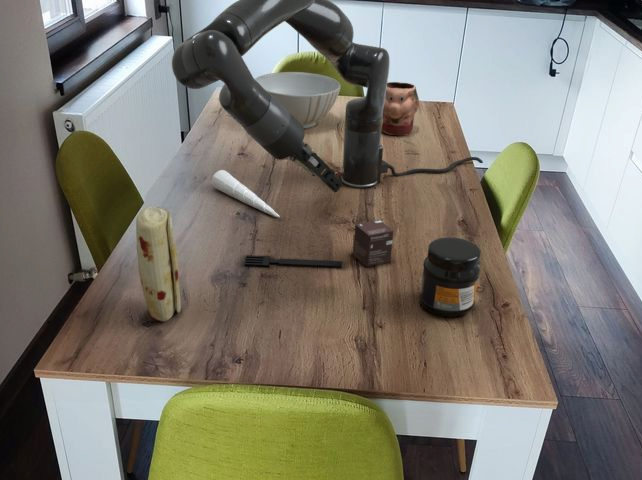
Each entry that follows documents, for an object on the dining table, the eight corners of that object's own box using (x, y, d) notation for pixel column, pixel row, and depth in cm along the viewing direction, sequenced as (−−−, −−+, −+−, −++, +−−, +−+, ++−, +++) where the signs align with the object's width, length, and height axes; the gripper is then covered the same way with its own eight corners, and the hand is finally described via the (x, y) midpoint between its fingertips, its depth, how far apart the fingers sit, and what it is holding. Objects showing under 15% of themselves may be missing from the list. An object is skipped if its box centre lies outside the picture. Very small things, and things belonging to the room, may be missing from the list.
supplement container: (473, 322, 130) (483, 265, 123) (416, 315, 131) (423, 258, 124) (473, 294, 139) (484, 239, 132) (420, 287, 140) (427, 232, 133)
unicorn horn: (266, 223, 161) (266, 203, 158) (211, 189, 175) (210, 171, 173) (283, 218, 163) (283, 198, 161) (227, 185, 178) (226, 167, 175)
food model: (148, 299, 132) (136, 199, 120) (184, 299, 132) (175, 199, 121) (141, 328, 124) (127, 223, 112) (180, 327, 124) (170, 224, 113)
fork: (341, 261, 148) (342, 259, 147) (341, 270, 144) (342, 268, 144) (246, 257, 147) (246, 255, 147) (244, 266, 144) (244, 264, 144)
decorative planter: (378, 118, 229) (382, 74, 221) (416, 121, 228) (421, 77, 220) (375, 138, 213) (378, 91, 205) (415, 141, 212) (420, 94, 204)
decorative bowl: (338, 138, 211) (340, 97, 204) (249, 134, 211) (248, 92, 204) (339, 112, 233) (340, 74, 226) (258, 108, 233) (257, 69, 226)
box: (366, 267, 146) (368, 235, 141) (352, 255, 150) (354, 223, 146) (391, 262, 148) (394, 230, 144) (376, 250, 152) (379, 218, 148)
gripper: (305, 120, 116) (359, 177, 128) (268, 98, 126) (322, 152, 138) (276, 156, 117) (333, 209, 128) (241, 131, 127) (297, 182, 138)
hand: (327, 179), depth 133 cm, fingers open, 8 cm apart
